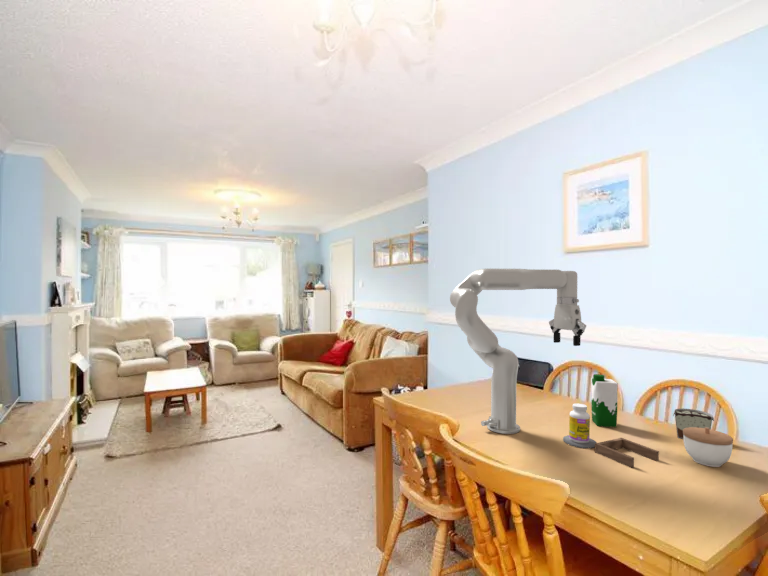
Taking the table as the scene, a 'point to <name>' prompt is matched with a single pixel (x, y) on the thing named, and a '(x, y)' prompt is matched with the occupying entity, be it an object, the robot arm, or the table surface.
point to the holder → (610, 449)
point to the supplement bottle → (579, 424)
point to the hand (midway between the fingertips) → (566, 344)
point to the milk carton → (604, 401)
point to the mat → (580, 445)
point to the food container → (691, 420)
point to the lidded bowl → (707, 446)
